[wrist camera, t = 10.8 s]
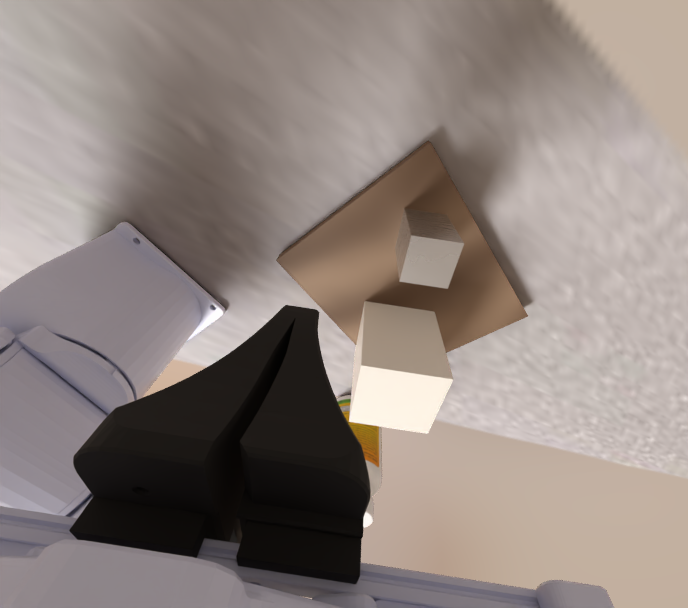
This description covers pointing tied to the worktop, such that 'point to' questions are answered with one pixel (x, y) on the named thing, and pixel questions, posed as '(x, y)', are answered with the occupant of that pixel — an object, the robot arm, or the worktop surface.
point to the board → (381, 264)
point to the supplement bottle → (367, 453)
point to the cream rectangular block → (398, 368)
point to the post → (427, 248)
